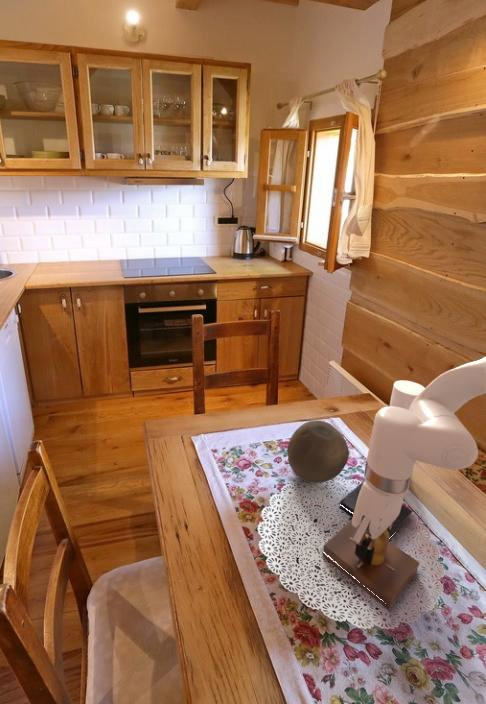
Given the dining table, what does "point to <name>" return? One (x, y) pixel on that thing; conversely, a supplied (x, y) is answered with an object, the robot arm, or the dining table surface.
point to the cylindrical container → (405, 393)
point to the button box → (350, 504)
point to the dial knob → (379, 547)
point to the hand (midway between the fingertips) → (371, 549)
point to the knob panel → (372, 567)
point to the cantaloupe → (317, 452)
